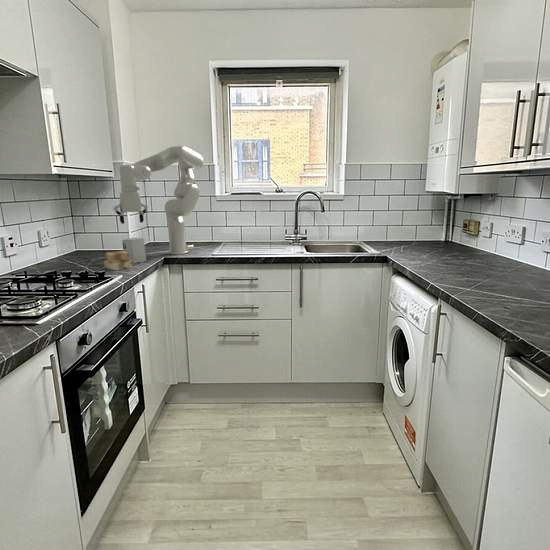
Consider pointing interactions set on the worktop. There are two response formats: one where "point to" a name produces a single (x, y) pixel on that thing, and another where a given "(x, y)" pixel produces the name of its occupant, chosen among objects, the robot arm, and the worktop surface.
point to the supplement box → (136, 249)
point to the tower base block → (118, 265)
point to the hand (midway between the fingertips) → (132, 222)
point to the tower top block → (117, 256)
